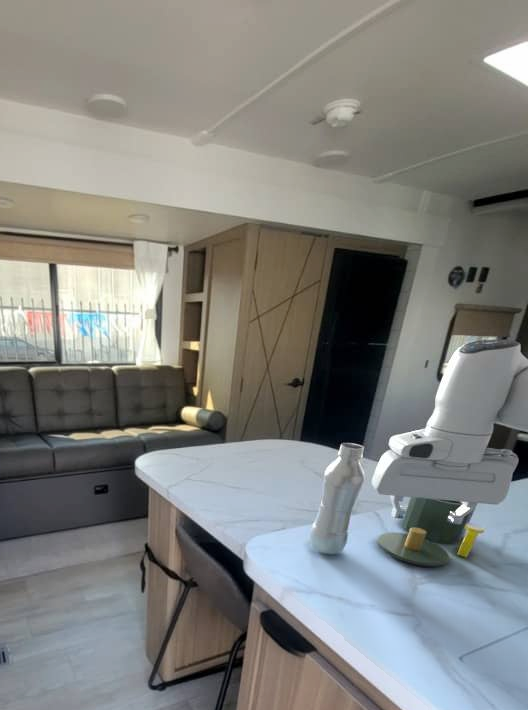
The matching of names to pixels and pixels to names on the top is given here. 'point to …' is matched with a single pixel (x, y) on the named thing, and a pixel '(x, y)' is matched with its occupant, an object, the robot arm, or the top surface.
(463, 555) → the watch
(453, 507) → the tin
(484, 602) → the top surface
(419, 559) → the tin lid
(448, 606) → the top surface
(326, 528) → the plastic bottle
